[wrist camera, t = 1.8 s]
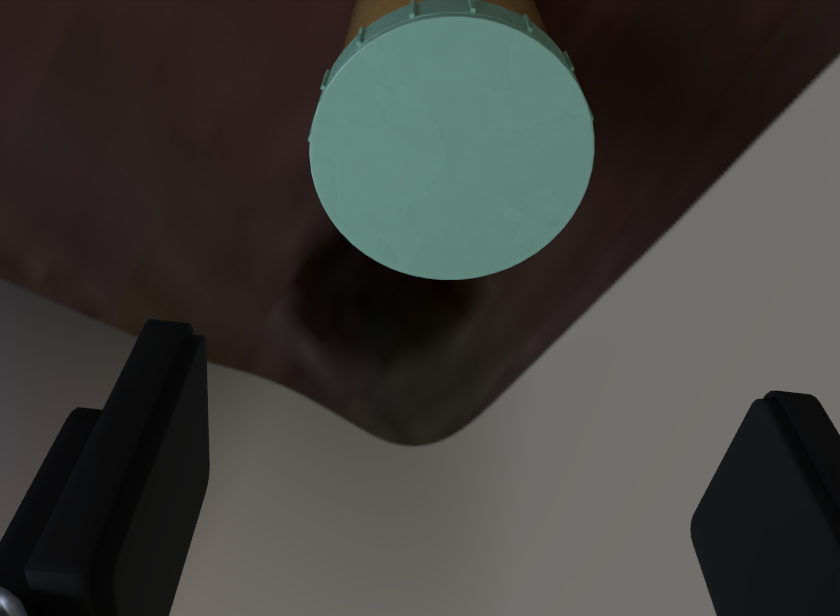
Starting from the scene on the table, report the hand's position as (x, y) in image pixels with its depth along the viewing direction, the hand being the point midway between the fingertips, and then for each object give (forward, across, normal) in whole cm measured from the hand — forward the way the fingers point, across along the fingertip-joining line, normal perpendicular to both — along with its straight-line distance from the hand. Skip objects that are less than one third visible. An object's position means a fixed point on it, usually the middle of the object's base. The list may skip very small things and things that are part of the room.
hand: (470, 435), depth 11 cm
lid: (+9, 0, 0) cm, 9 cm away
